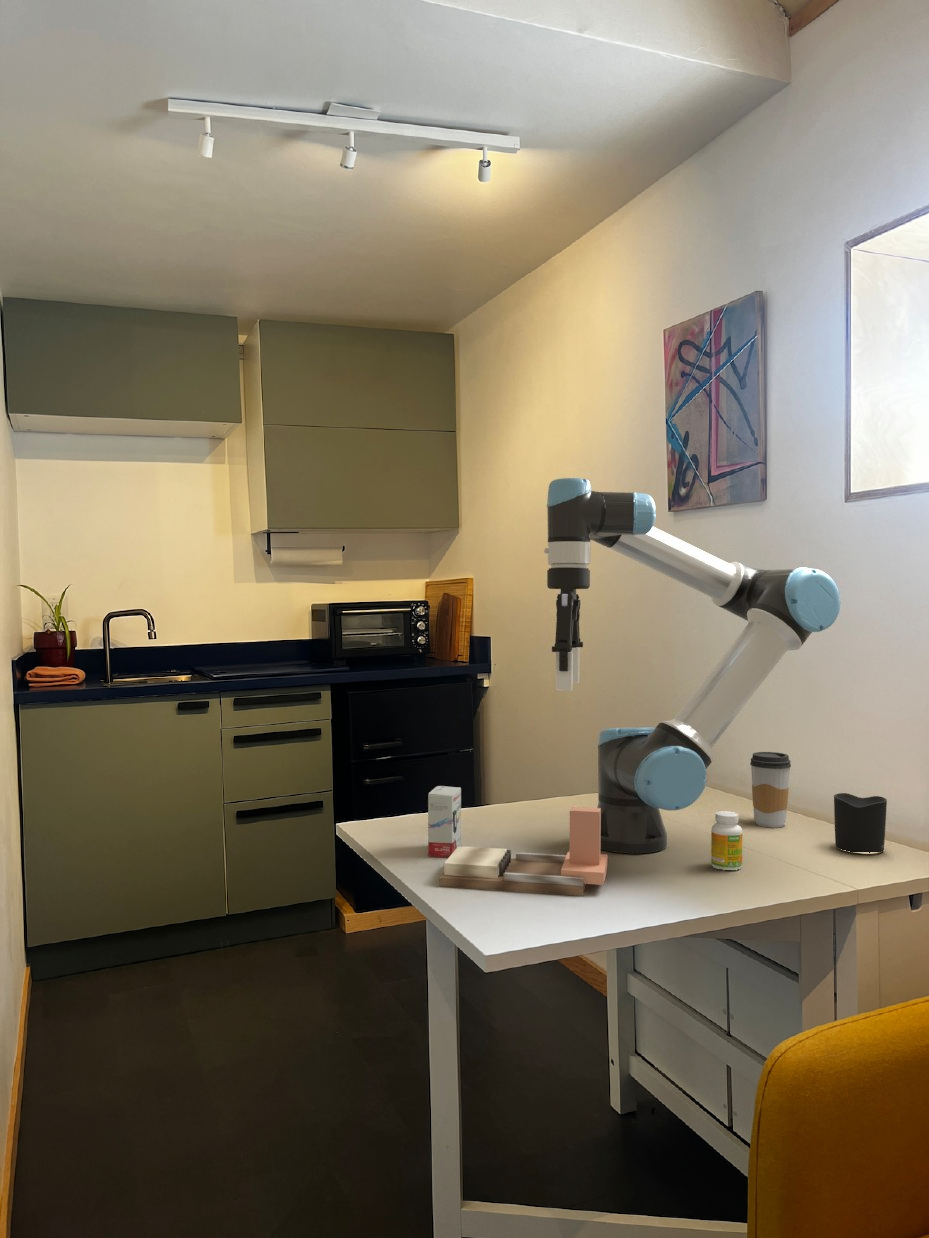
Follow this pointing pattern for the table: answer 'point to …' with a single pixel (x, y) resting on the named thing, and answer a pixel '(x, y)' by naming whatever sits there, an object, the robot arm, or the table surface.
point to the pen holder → (859, 823)
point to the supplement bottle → (726, 842)
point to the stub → (585, 847)
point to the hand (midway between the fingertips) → (567, 686)
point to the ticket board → (508, 872)
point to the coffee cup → (770, 788)
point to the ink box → (444, 821)
